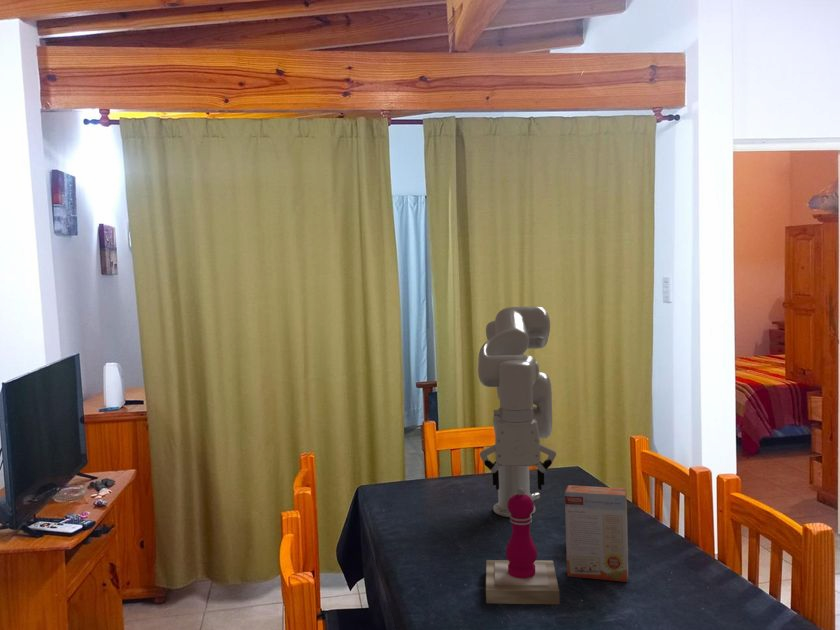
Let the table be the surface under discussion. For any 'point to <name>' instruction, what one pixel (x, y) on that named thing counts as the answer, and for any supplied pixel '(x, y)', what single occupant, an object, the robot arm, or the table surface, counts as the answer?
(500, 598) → the birch plinth
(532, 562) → the pepper mill
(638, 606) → the table surface
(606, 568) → the cracker box
